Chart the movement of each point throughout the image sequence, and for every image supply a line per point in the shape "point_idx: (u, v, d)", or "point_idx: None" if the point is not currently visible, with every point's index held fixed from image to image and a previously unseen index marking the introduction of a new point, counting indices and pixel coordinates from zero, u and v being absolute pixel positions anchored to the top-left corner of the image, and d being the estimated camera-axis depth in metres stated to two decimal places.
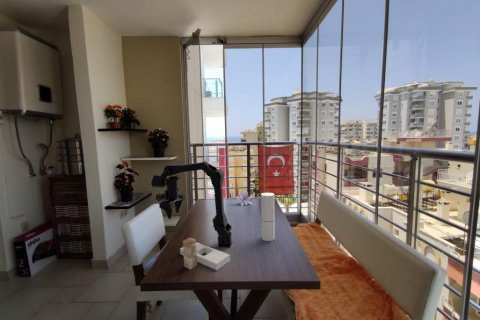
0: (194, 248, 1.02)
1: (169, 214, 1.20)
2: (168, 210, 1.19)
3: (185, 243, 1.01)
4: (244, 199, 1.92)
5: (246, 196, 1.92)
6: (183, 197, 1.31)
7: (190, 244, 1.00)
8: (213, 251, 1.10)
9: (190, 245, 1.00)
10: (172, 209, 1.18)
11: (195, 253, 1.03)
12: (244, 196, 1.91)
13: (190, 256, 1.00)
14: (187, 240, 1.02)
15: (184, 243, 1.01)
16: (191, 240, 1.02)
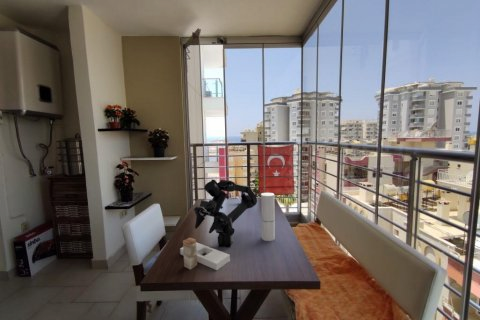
0: (194, 248, 1.02)
1: (214, 228, 1.07)
2: (216, 223, 1.07)
3: (185, 243, 1.01)
4: None
5: None
6: None
7: (190, 244, 1.00)
8: (213, 251, 1.10)
9: (190, 245, 1.00)
10: (220, 224, 1.09)
11: (195, 253, 1.03)
12: None
13: (190, 256, 1.00)
14: (187, 240, 1.02)
15: (184, 243, 1.01)
16: (191, 240, 1.02)
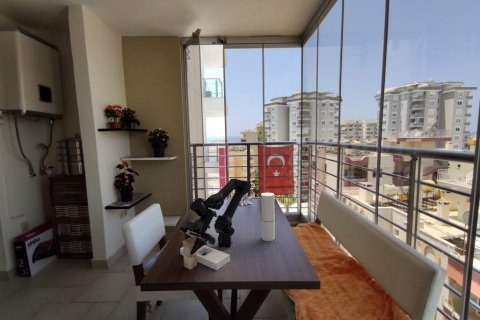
0: None
1: (196, 249, 1.01)
2: (198, 244, 1.02)
3: (185, 243, 1.01)
4: (244, 199, 1.92)
5: (246, 196, 1.92)
6: None
7: (190, 244, 1.00)
8: (213, 251, 1.10)
9: (190, 245, 1.00)
10: None
11: (195, 253, 1.03)
12: (244, 196, 1.91)
13: (190, 256, 1.00)
14: (187, 240, 1.02)
15: (184, 243, 1.01)
16: (191, 240, 1.02)
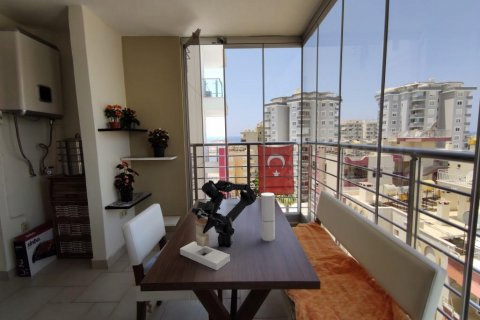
0: None
1: (208, 228, 1.07)
2: (210, 223, 1.08)
3: (197, 222, 1.06)
4: None
5: None
6: None
7: (202, 223, 1.05)
8: (213, 251, 1.10)
9: (202, 224, 1.05)
10: (214, 224, 1.09)
11: (207, 232, 1.08)
12: None
13: (202, 235, 1.06)
14: (199, 220, 1.07)
15: (196, 223, 1.07)
16: (203, 220, 1.07)
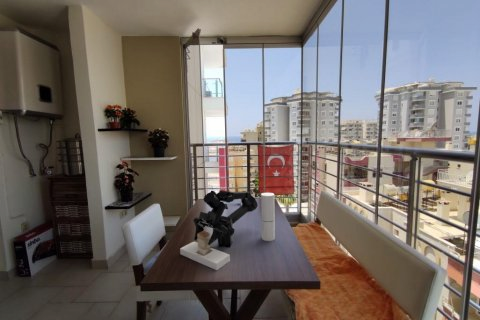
0: (208, 241, 1.09)
1: (213, 240, 1.07)
2: (215, 235, 1.07)
3: (199, 235, 1.08)
4: None
5: None
6: None
7: (204, 237, 1.07)
8: (213, 251, 1.10)
9: (204, 238, 1.07)
10: None
11: (208, 245, 1.09)
12: None
13: (204, 248, 1.07)
14: (201, 233, 1.09)
15: (198, 236, 1.08)
16: (205, 233, 1.09)
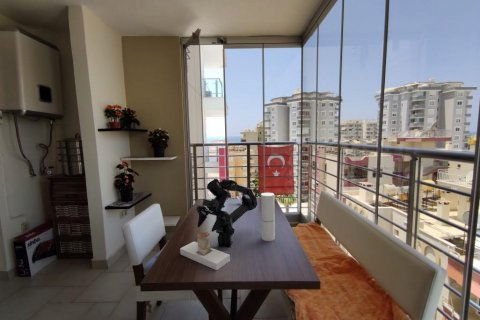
0: (208, 241, 1.09)
1: (216, 226, 1.08)
2: (218, 222, 1.09)
3: (199, 235, 1.08)
4: None
5: (246, 196, 1.92)
6: None
7: (204, 237, 1.07)
8: (213, 251, 1.10)
9: (204, 238, 1.07)
10: None
11: (208, 245, 1.09)
12: None
13: (204, 248, 1.07)
14: (201, 233, 1.09)
15: (198, 236, 1.08)
16: (205, 233, 1.09)
